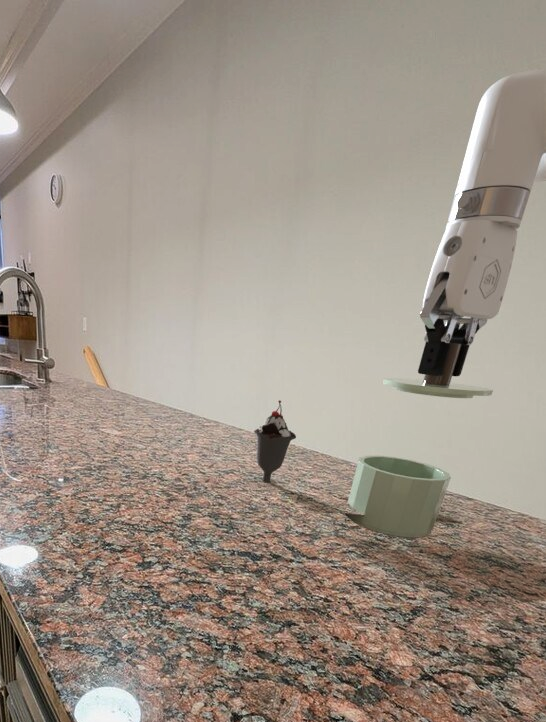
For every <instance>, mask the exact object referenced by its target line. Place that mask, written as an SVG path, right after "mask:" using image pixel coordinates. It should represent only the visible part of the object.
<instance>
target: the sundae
mask: <svg viewBox="0 0 546 722" xmlns="http://www.w3.org/2000/svg"><path fill="white" fill-rule="evenodd" d="M281 403H282V400H280V399H279V400H278V404H279V405H278V407H277V409H276V410H273V411H272V412H271V415H270V416H268V417H266V419H265V420H264V421H263V424H261V426H259V427H258V428H257V429H254V431H253V432H254V434H256V436H257V446H256V447H257V451H256V460H257V461H256V462H257V464H258V466H259V468H261V470H262V471H263V475H262V477H263V478H262V481H261V482H264V483H271V478H272V477H271V476H272V474H273V473H274V472H276V471H277V470H279V469H280V468H281V467H282V466H283V463H284V460H285V457H286V455H287V451H288V448H289V446H290V444H291V441H292V440H295V439H296V438H297V435H296V434H295V432H293V431H291V430H289V428H288V425H287V423H286V421H285V419H284V416H283V414H282V412H283V411H282V410H283V409H282V405H281ZM279 410H280V413H279V412H278V411H279Z"/></svg>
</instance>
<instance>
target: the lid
mask: <svg viewBox="0 0 546 722" xmlns="http://www.w3.org/2000/svg"><path fill="white" fill-rule="evenodd" d="M461 345H462V344H456V343H452V347H451V350H450V354H449V357H448V361H447V364H446V367H445V371H444V374H443V375H442V376H434V375H425V374H424V376H423V379H415V378H404V377H403V378H401V377H400V378H399V377H385V378H383V381H382V384H383V385H385V386H389V387H395V388H396V390H397V391H400V392H403V393H410V394H415V395H421V396H422V395H423V396H431V397H440V398H450V399H452V398H453V399H472V398H474V396H475V397H489V396H492V395H493V392H494V390H493V389H491V388H487V387H483V386H477V385H470V384H464V383H457V382H451V381H452V379H453V376H452V375H453V372H454V369H455V365H456V362H457V359H458V355H459V352H460V349H461Z"/></svg>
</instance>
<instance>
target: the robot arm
mask: <svg viewBox="0 0 546 722" xmlns="http://www.w3.org/2000/svg"><path fill="white" fill-rule="evenodd" d="M535 182H536V183H537V182H538V183H541V182H546V69H543V68H541V69H539V68H538V69H529V70H523V71H522V70H521V71H519V72H515V73H511V74H509V75H506V76H504V77H502V78H499V80H497V81H496V82H494V83H493V84H491V86H489V87H488V88H487V90H486V91H484V93H483V95H482V97H481V99H480V101H479V103H478V106H477V110H476V113H475V117H474V121H473V124H472V128H471V132H470V136H469V139H468V143H467V146H466V151H465V154H464V158H463V162H462V166H461V170H460V173H459V178H458V181H457V185H456V189H455V192H454V197H453V200H452V203H451V207H450V211H449V215H448V219H447V222H446V225H445V231H444V232H443V233H444V234H443V235H442V238H441V240H440V243H439V246H438V249H437V251H436V254H435V257H434V261H433V263H432V266H431V270H430V273H429V276H428V280H427V283H426V286H425V290H424V295H423V300H422V309H421V310H420V313H419V317H420V319H421V321H422V322H423V324H424V328H425V334H424V337H423V341H424V343H425V344H424V347H423V351H422V354H421V358H420V362H419V365H418V368H417V373H418V374H419V375H424V376H425V375H434V376H442V375H443V374H444V371H445V367H446V364H447V361H448V357H449V354H450V350H451V347H452V343H456V344H462V345H461V349H460V352H459V355H458V359H457V362H456V365H455V369H454V372H453V375H452V377H460V376H461V375H462V372H463V368H464V365H465V362H466V358H467V356H468V352H469V349H470V346H471V345H472V344H473V342H474V340H475V336H476V334H477V333H478V331H479V330H481V328H483V327H484V326H485V325H486V324H487V323H488V320H491V319H494V318H495V317H496V316H497V315H498V314H499V312H500V309H501V306H502V302H503V298H504V295H505V292H506V288H507V285H508V280H509V277H510V273H511V269H512V265H513V260H514V256H515V250H516V246H517V239H518V230H517V229H519V228H520V226H521V223H522V220H523V217H524V214H525V211H526V207H527V205H528V201H529V198H530V195H531V191H532V190H533V189H532V188H533V186H534V183H535ZM445 322H446V324H445ZM460 325H461V326H460Z"/></svg>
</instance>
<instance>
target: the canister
mask: <svg viewBox="0 0 546 722" xmlns="http://www.w3.org/2000/svg"><path fill="white" fill-rule="evenodd" d="M357 460H358V461H357V464H356V468H355V472H354V475H353V480H352V484H351V487H350V490H349V495H348V499H347V504H348V505H349V506H350V507H351V508H352V509H354V510H355V511H357V512H358V513H361V514H355V513H345V515H346V517H347V518H348V519H349V520H350V521H352V522H354V523H355V524H356V525H359V526H361V527H362V528H364V529H368V530H370V531H374V532H376V533H377V532H378V533H379V534H380V533H381V534H384V535H387V536H393V537H398V538H399V537H400V538H410V539H411V538H412V539H413V538H414V539H416V538H417V539H418V538H424V537H427V536H429V535H431V533H432V531H433V530H434V527H435V525H436V521H437V518H438V516H439V513H440V510H441V507H442V504H443V501H444V498H445V495H446V493H447V489H448V487H449V484H450V481H451V479H452V478H451V475H450V473H448V472H447V471H446V470H443V469H441V468H440V467H437V466H435V465H431V464H428V463H425V462H420V461H417V460H413V459H408V458H402V457H396V456H388V455H363V456H359V458H358V459H357Z"/></svg>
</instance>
